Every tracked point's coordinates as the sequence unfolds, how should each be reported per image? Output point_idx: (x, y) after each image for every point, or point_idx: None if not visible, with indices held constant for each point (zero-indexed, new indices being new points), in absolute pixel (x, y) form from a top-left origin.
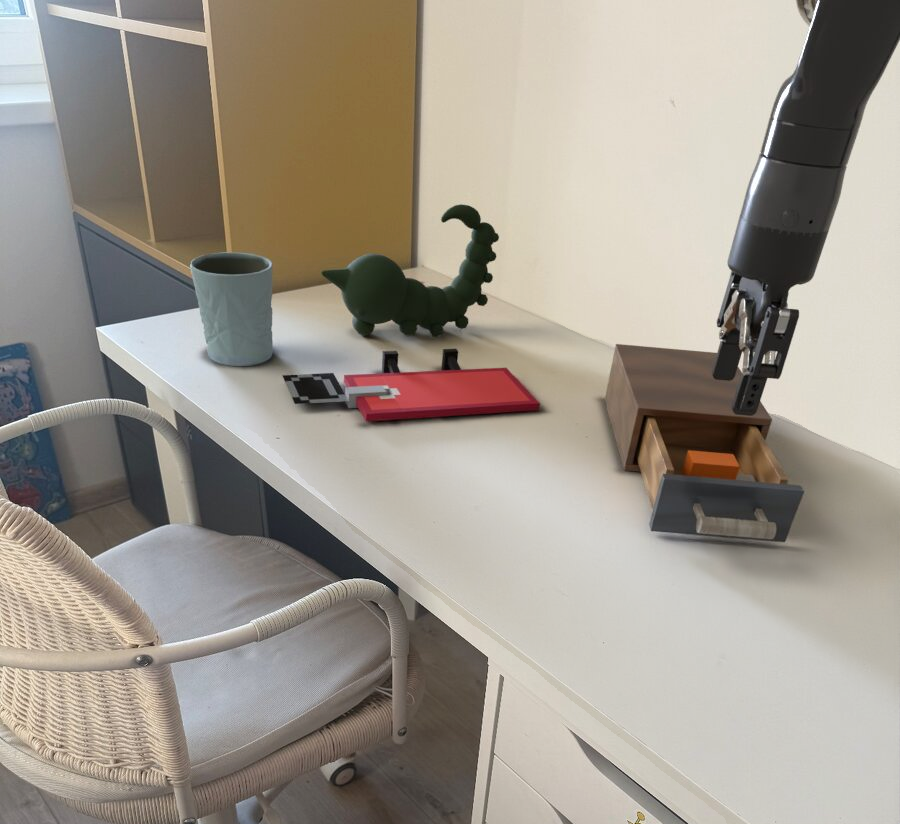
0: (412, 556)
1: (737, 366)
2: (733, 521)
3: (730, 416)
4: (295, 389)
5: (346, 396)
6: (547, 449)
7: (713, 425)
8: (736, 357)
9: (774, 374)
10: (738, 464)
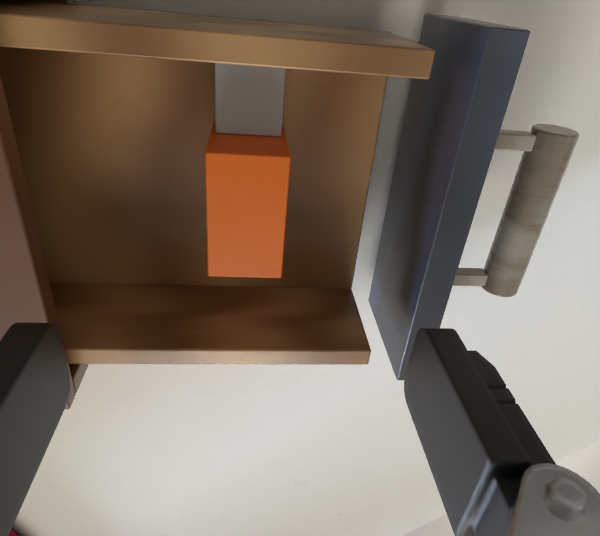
0: (412, 523)
1: (25, 367)
2: (534, 235)
3: (6, 151)
4: None
5: None
6: (70, 408)
7: None
8: (5, 419)
9: None
10: (277, 157)
